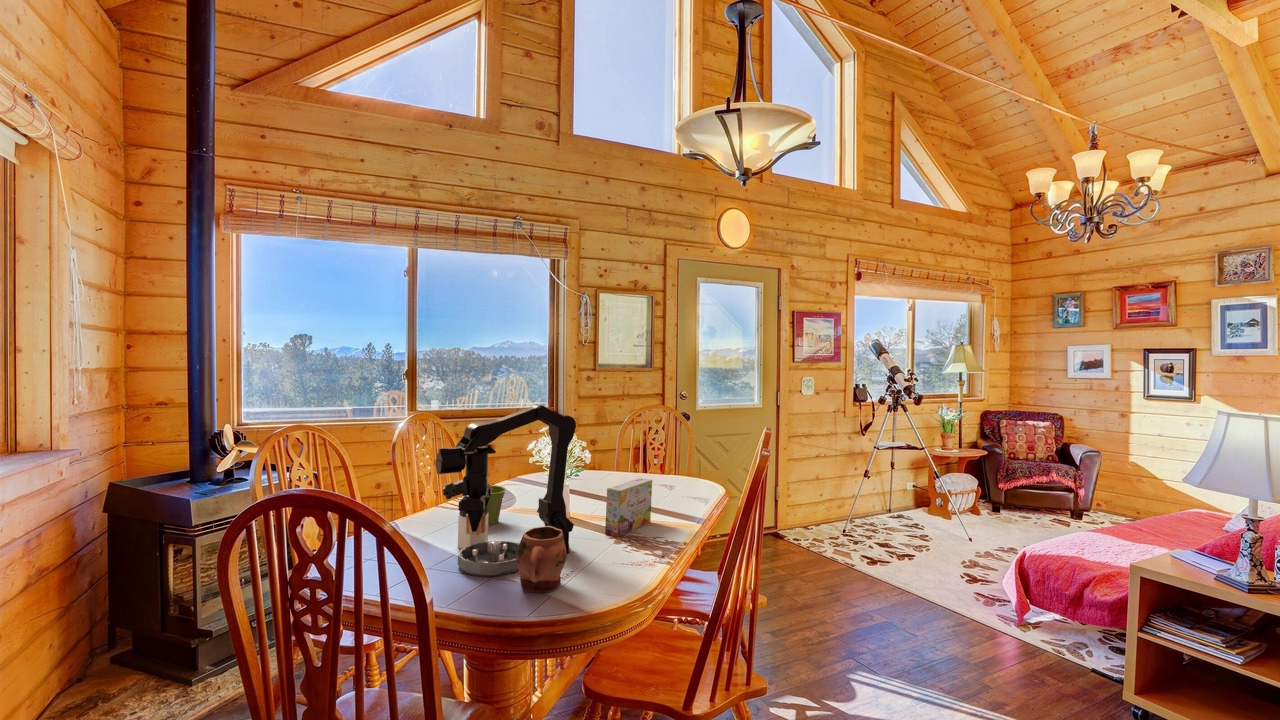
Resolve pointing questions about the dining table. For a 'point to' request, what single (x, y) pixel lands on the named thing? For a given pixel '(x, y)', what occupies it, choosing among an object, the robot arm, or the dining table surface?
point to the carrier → (489, 559)
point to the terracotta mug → (541, 559)
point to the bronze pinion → (480, 528)
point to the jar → (465, 538)
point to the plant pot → (495, 503)
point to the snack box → (628, 506)
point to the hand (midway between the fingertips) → (475, 528)
